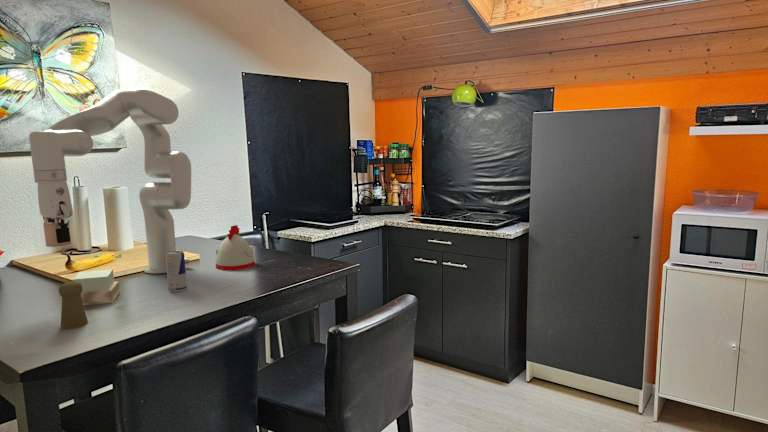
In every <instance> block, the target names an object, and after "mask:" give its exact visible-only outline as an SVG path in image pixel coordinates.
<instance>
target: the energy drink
mask: <svg viewBox="0 0 768 432" xmlns="http://www.w3.org/2000/svg"><path fill="white" fill-rule="evenodd" d="M185 258H186V257H185V253H184V250H176V251H170V252H167V253H166V267H167V273H166V277H167V287H168V288H167V289H168V290H167V291H168V292H170V293H180V292H184V291H186V290H187V288H188V285H187V283H188V282H187V275H186V274H187V273H186V264H185Z"/></svg>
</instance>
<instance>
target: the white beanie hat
mask: <svg viewBox="0 0 768 432" xmlns="http://www.w3.org/2000/svg"><path fill="white" fill-rule="evenodd" d="M228 232H229V233H227V236H226V237H225V238H224V239H223V240H222V242H221V243H220V245H219V247H218V248H217V249H216V251H215V255H216V257H215V269H217V270H219V271H227V270H231V271H240V270H241V269H242V270H245V269H246V268H247V269H250V267H251V268H252V266H253V267H254V266H256V265H255V264H256V263H255V261H256V260H255V256H254V248H253V246H250V244H249V243H248V241H247V240H246V239H245V238H244V237H242V236H241V235H239V234H240V227H239V226H238V224H235V225H231V226H230V229H229V230H228ZM247 269H246V270H247Z"/></svg>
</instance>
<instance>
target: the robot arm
mask: <svg viewBox="0 0 768 432" xmlns="http://www.w3.org/2000/svg"><path fill="white" fill-rule="evenodd" d="M179 113H180V112H179V108H178V106H177V104H176V103H175V101H173V100H172V99H171V98H168V97H166V96H164V95H162V94H159V93H158V92H156V91H153V90H150V89H147V88H143V87H142V88H141V87H135V88H132V87H131V88H120V89H116V90H114V91H112V92H111V93H109V94H108V95H107V96H105V97H104V98H102V99H101V100H100V101H98V102H97V103H95V104H94V105H93V106H91V107H89V108H86V109H84V110H82V111H79V112H76V113H75V114H72V115H70V116H68V117H65V118H63V119H60V120H59V121H57V122H56V123H54V124H52V125H51V126H49V127H48V128H47V129H45V130H34V131H31V132H30V133H29V135H28V136H29V137H28V139H29V140H28V141H29V146H30V147H29V148H30V155H31V156H30V157H31V162H32V163H31V164H32V170H33V171H32V172H33V179H34V183H35V184H37V201H38V208H39V213H40V215H41V216H42V220H44V221H43V224H46V223H51V222H55V223H56V226H57V229H56V237H57V243H64V242H70V237H71V231H70V232H69V229H70V218H71V217H72V216H73V215H74V212H73V205H72V200H71V199H72V198H71V192H70V190H69V185H68V183H67V182H68V176H67V170H66V160H65V157H74V158H75V157H83V156H85V155H88V154H89V153H91V151H92V149H93V148H94V139H93V138H92V137H95V136H99V135H102V134H106V133H109V132H112V131H113V130H115V128H117V127H118V126H119V125H120V124H121V123H123V122H124V121H125V120H126V119H128V118H129V117H130V119H131V121H132V122H133V123H134V124H135V125H136V127H138V129H139V130H140V131H141V134H142V137H143V139H144V140H143V142H144V143H143V144H144V156H143V157H144V158H143V162H144V172H145V174H146V176H148V177H150V178H152V179H170V182H167V181H166V182H165V181H161V182H160V181H153V182H148V183H146V184H144V185H143V186H142V187H141V188H140V190H139V195H138V196H139V202H140V205H141V208H142V211H143V216H144V217H143V218H144V224H145V228H144V229H145V238H146V241H145V242H146V251H147V262H148V263H147V264H148V266H149V267H147V266H145V267H146V268H145V267H144V269H143V270H144V273H146V274H167V267H166V253H167V252H170V251H177V245H176V244H177V243H176V235H175V234H176V232H175V221H174V218H173V215H172V213H171V212H170V210H184V209H186V208H188V207H189V205H190V203H191V197H192V163H191V160H190V158H189V156H188V155H187V154H186V153H184V152H183V151H179V150H171V148H172V146H171V136H170V133H169V131H168V129H166V127H165V126H164V125H172V124H174V123H175V122H176V121H178V120H177V119H178V118H179ZM186 264H191V259H190V257H185V265H186Z"/></svg>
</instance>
